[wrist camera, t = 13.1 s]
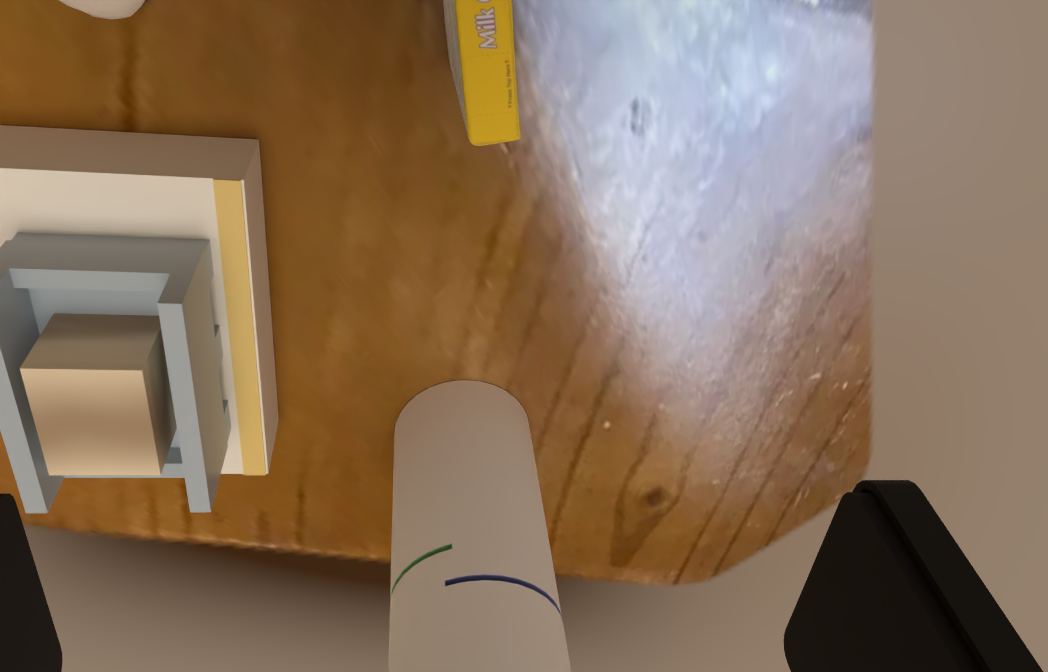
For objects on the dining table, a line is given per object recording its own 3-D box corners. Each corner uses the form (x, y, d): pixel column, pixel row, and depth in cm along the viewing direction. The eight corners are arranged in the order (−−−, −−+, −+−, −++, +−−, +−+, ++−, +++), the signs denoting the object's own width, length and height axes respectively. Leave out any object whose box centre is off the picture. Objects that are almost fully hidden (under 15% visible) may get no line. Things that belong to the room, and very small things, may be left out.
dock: (-2, 125, 35) (-46, 167, 31) (258, 139, 36) (243, 181, 33) (69, 416, 43) (40, 474, 40) (278, 419, 44) (268, 475, 41)
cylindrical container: (533, 473, 48) (623, 1014, 28) (405, 490, 48) (401, 1049, 28) (524, 371, 44) (620, 918, 24) (383, 389, 44) (360, 958, 24)
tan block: (53, 313, 33) (19, 368, 30) (165, 315, 33) (142, 370, 31) (78, 415, 36) (48, 475, 33) (180, 416, 36) (160, 475, 33)
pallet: (16, 227, 33) (-40, 298, 29) (209, 234, 34) (181, 304, 30) (66, 430, 38) (26, 513, 34) (231, 431, 39) (210, 512, 35)
